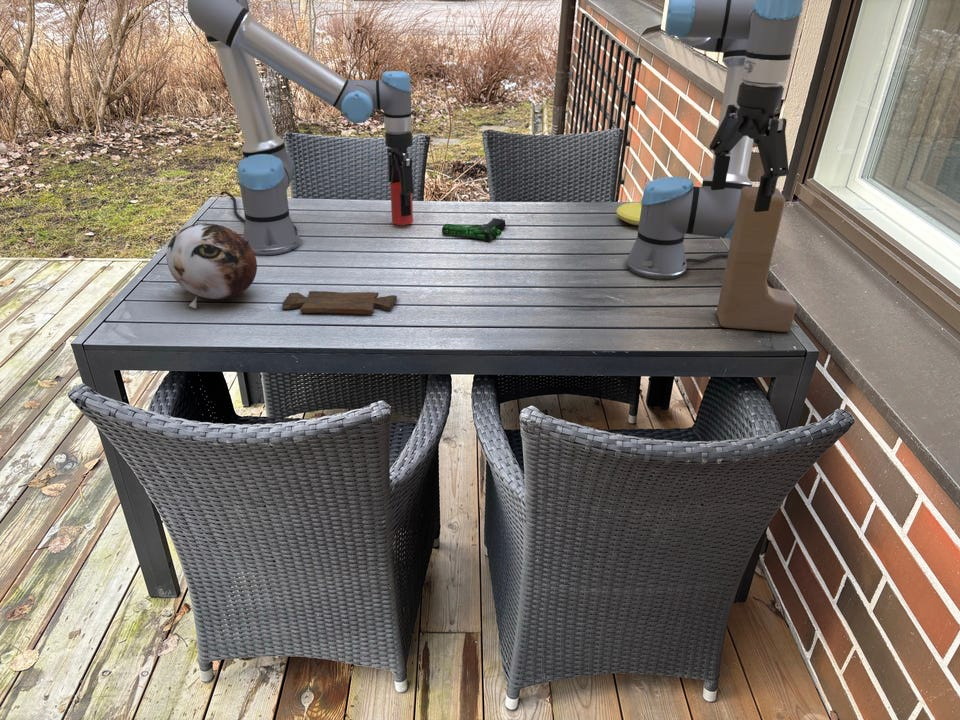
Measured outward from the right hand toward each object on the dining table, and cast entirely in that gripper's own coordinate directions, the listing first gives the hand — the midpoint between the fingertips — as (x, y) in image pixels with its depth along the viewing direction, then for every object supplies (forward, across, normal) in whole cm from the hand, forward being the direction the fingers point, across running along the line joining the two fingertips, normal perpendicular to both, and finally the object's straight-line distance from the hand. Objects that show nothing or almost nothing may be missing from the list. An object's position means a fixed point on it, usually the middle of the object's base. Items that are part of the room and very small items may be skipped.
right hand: (738, 199), depth 138 cm
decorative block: (+31, -4, +14) cm, 34 cm away
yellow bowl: (+31, -70, +24) cm, 80 cm away
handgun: (+31, -76, -27) cm, 87 cm away
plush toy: (+31, -54, -99) cm, 117 cm away
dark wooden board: (+31, -40, -73) cm, 89 cm away
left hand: (+27, -88, -46) cm, 103 cm away
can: (+30, -88, -46) cm, 104 cm away
